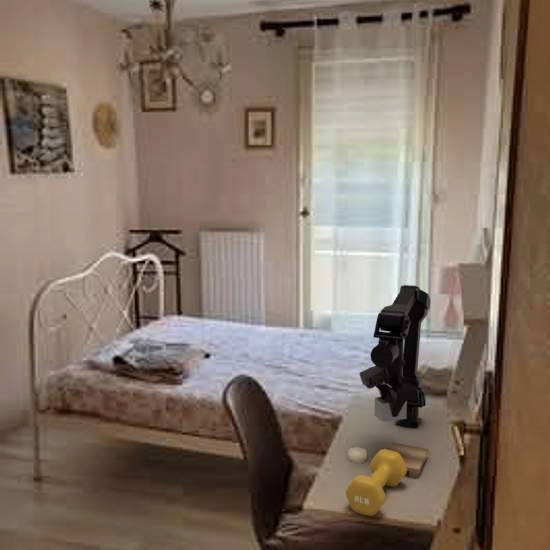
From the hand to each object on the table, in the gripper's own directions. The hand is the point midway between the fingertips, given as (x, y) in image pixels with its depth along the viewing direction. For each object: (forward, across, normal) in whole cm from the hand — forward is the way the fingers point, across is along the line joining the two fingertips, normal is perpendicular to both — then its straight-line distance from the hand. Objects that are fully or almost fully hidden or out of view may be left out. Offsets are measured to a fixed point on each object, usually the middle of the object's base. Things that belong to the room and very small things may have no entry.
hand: (390, 413), depth 161 cm
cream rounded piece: (+12, 0, -9) cm, 15 cm away
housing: (+1, 0, 0) cm, 1 cm away
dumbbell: (+12, +18, -13) cm, 25 cm away
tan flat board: (+11, +7, +1) cm, 13 cm away
